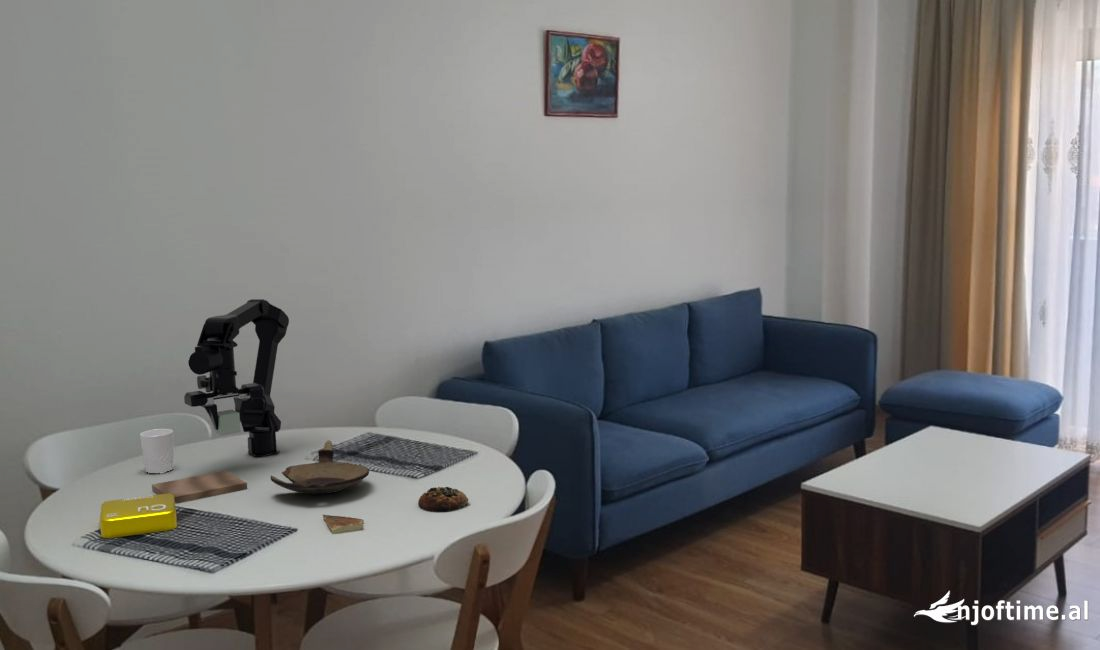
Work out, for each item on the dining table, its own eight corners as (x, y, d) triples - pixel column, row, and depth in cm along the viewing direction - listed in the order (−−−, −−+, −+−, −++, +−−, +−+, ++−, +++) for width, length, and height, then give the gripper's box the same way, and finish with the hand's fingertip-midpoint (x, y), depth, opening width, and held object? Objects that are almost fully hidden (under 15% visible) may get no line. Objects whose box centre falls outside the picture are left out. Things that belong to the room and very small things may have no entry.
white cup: (169, 474, 267) (166, 435, 265) (138, 475, 267) (134, 436, 266) (180, 466, 275) (177, 428, 273) (150, 466, 275) (147, 429, 273)
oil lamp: (252, 504, 241) (250, 471, 240) (314, 468, 270) (312, 439, 269) (342, 510, 235) (340, 476, 234) (395, 473, 264) (394, 443, 263)
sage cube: (233, 428, 272) (232, 409, 271) (240, 432, 268) (239, 412, 267) (214, 431, 269) (212, 412, 268) (221, 435, 265) (219, 415, 264)
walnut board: (225, 476, 264) (225, 470, 264) (247, 488, 253) (246, 482, 253) (152, 490, 253) (151, 484, 253) (171, 504, 242) (170, 497, 242)
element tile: (175, 510, 239) (173, 490, 238) (177, 531, 225) (175, 509, 224) (103, 520, 233) (101, 499, 233) (101, 541, 220) (99, 519, 219)
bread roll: (421, 514, 230) (421, 491, 230) (415, 506, 241) (414, 484, 241) (472, 511, 233) (471, 488, 233) (463, 503, 244) (462, 481, 244)
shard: (322, 521, 229) (322, 513, 229) (358, 516, 232) (357, 508, 232) (330, 536, 219) (330, 527, 219) (367, 531, 222) (367, 523, 222)
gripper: (246, 358, 278) (250, 416, 280) (174, 367, 266) (179, 428, 269) (263, 364, 269) (267, 424, 271) (189, 373, 258) (194, 436, 260)
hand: (227, 427), depth 268 cm, fingers closed on sage cube, 5 cm apart
